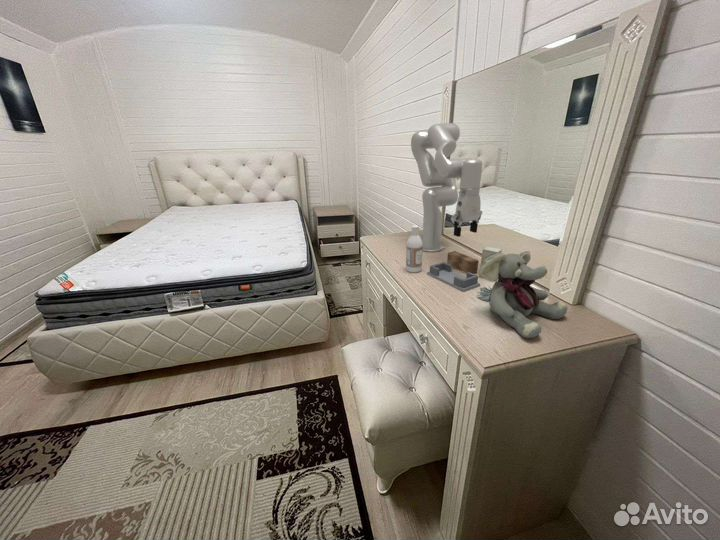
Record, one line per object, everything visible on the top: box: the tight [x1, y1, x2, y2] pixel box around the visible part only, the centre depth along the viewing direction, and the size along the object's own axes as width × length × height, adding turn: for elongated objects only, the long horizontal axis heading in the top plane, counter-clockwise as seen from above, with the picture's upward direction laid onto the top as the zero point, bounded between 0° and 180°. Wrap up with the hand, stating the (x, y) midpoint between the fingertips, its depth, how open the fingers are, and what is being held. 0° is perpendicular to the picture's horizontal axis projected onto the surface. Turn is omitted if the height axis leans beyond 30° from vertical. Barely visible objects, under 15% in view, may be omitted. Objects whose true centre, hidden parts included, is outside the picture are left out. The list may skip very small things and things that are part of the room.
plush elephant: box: [476, 250, 568, 339], centre depth 92 cm, size 27×22×21 cm
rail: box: [426, 261, 481, 293], centre depth 119 cm, size 20×9×4 cm, turn 30°
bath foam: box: [405, 225, 424, 273], centre depth 127 cm, size 7×7×20 cm
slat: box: [446, 250, 479, 275], centre depth 129 cm, size 14×4×6 cm, turn 26°
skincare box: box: [478, 246, 503, 279], centre depth 119 cm, size 6×4×12 cm
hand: (465, 233), depth 124 cm, fingers open, 9 cm apart
